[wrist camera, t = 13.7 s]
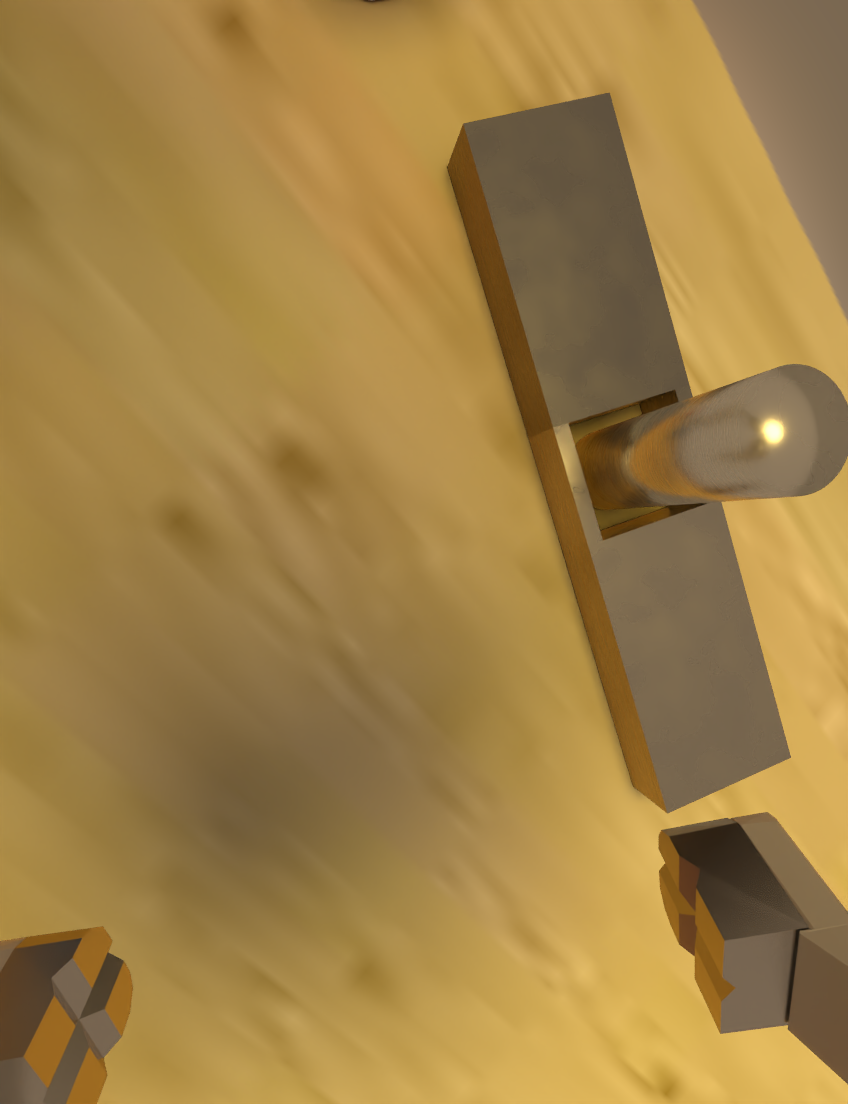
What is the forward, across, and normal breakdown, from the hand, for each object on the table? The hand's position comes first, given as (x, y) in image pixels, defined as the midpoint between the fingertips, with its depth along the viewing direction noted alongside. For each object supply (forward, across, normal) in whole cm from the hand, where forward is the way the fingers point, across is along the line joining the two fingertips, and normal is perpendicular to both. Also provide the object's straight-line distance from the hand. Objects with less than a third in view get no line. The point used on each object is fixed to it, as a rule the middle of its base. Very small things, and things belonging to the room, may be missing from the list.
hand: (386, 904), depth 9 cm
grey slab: (+22, -11, +1) cm, 25 cm away
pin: (+22, -11, +1) cm, 25 cm away
